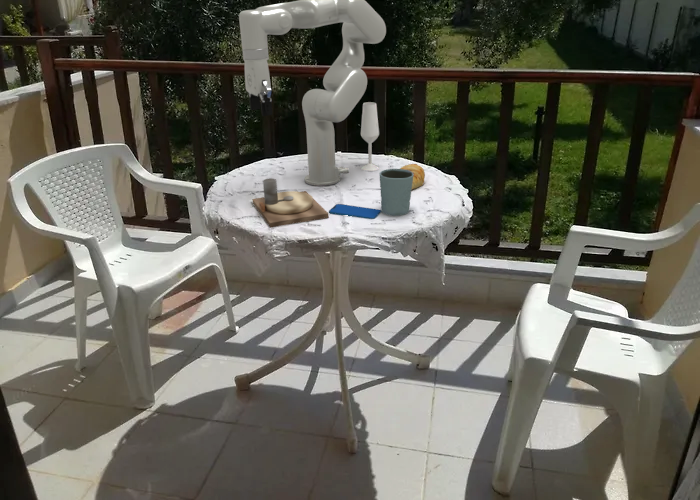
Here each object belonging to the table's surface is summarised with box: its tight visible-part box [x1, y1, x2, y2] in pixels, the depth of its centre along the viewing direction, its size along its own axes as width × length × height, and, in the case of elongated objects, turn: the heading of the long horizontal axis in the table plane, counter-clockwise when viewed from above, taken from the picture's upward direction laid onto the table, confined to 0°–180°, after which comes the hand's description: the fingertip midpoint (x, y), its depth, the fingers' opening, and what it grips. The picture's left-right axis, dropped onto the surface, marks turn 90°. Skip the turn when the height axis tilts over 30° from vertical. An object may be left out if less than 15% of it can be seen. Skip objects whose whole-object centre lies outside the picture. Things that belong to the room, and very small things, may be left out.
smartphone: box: [328, 203, 382, 220], centre depth 181 cm, size 7×1×15 cm
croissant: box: [399, 163, 426, 191], centre depth 204 cm, size 21×10×8 cm, turn 162°
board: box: [251, 190, 330, 228], centre depth 183 cm, size 18×22×4 cm
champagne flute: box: [360, 101, 380, 172], centre depth 216 cm, size 7×7×24 cm
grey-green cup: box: [378, 168, 414, 217], centre depth 179 cm, size 10×10×12 cm
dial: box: [262, 178, 314, 214], centre depth 181 cm, size 15×15×9 cm
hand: (261, 112), depth 183 cm, fingers open, 9 cm apart
